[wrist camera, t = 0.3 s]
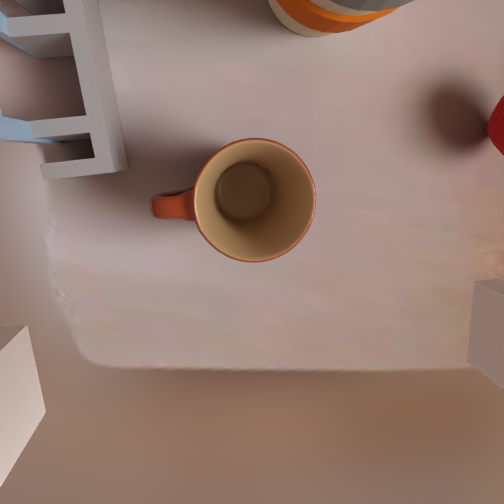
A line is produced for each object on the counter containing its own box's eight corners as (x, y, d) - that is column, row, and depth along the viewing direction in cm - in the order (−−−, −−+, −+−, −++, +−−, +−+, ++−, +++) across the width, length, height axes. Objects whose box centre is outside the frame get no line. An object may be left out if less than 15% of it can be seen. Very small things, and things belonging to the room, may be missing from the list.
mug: (284, 139, 37) (315, 134, 27) (288, 231, 39) (317, 257, 29) (154, 147, 36) (136, 144, 26) (165, 241, 38) (152, 272, 28)
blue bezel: (31, 39, 32) (-49, -16, 22) (39, 39, 32) (-38, -17, 22) (55, 144, 34) (-8, 140, 24) (62, 144, 34) (2, 139, 24)
